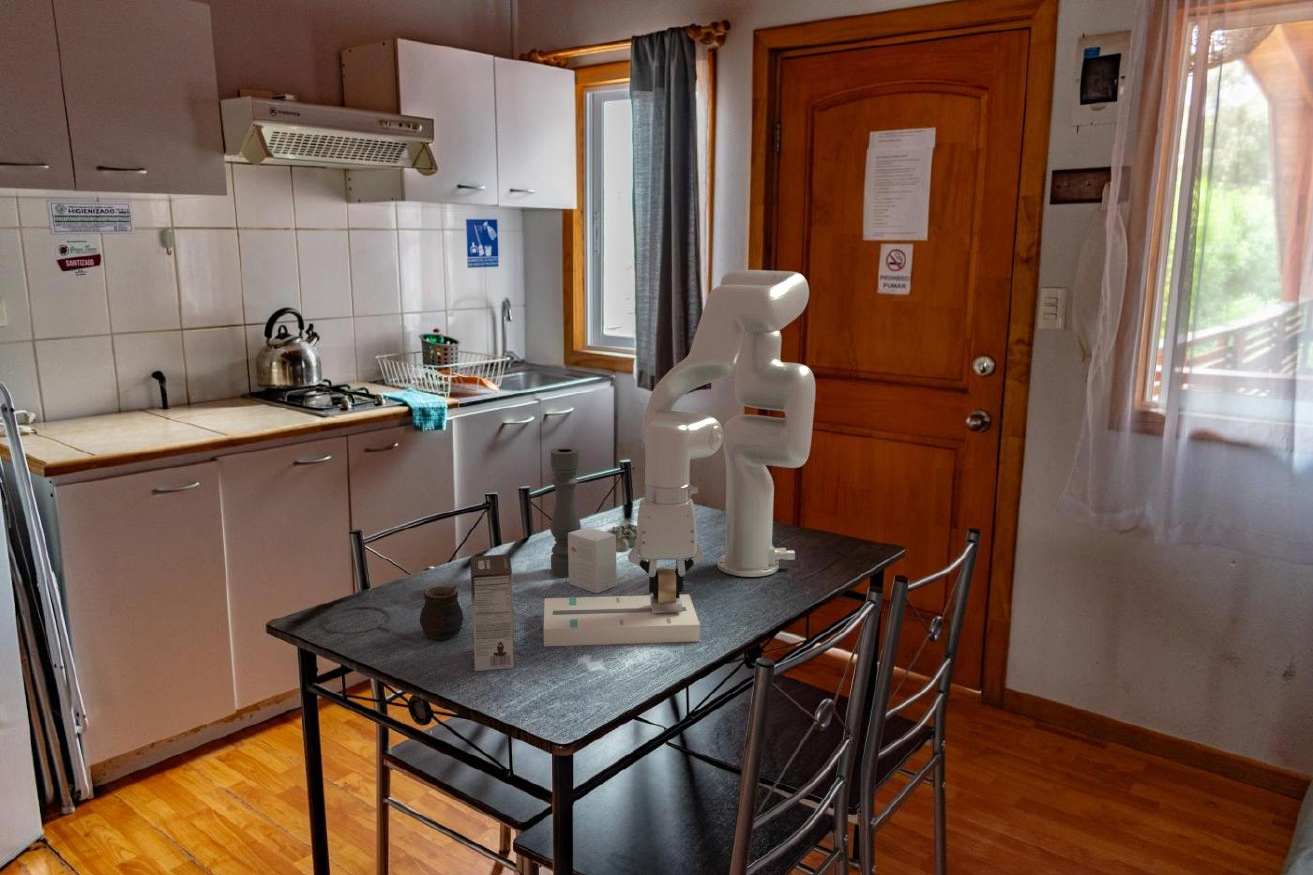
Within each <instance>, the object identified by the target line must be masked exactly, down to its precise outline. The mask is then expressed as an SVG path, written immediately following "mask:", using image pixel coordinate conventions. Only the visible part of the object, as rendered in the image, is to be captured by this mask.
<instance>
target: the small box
mask: <svg viewBox="0 0 1313 875" xmlns="http://www.w3.org/2000/svg"><path fill="white" fill-rule="evenodd" d="M604 531H605V530H600V529H596V528H592V527H589V526H588V527H584V528H581V529H580V530H576V531H573V532H569V533H568V567H569V577H568V584H569V585H570V586H575V587H577V588H580V589H583V590H585V591H588V592H591V593H593V594H599V593H602V592H605V591H607V590H610V589H612V588H615V587H617V585H618V584H617V583H618V582H617V576H618V575H617V552H616V535H614V534H610V533H607V532H604Z"/></svg>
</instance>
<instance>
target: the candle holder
mask: <svg viewBox="0 0 1313 875" xmlns="http://www.w3.org/2000/svg"><path fill="white" fill-rule="evenodd" d="M550 468H551V471H552V473H553V475H554V477H555V478H553V479H552V480H551V484H552V486H554V488H555V503H554V508H553V513H552V517H551V521H550V526H549V527H550V534H551V535H552V536H553V538H554V541H555V543H554V545H553V546H552V547H551V555H550V574H551V575H552V576H554V577H558V578H569V567H568V533H569V532H573V531H576V530H580V529H582V524H581V521H580V516H579V512H578V509H577V505H576V504H577V503H576V487H577V486H578V485H579V479H577V478H576V475H577V473H578V471H579V468H580V449H578V448H575V447H556V448H552V449H550Z"/></svg>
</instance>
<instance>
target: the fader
mask: <svg viewBox="0 0 1313 875" xmlns="http://www.w3.org/2000/svg"><path fill="white" fill-rule="evenodd" d="M656 571H657V575H658V598H657V599H654V596H653V593H650V594H649V595H650V603H651V607H652V611H653V613H667V612H682V602H681V599H680V598H676V573H675V567H670V566H669V567H656Z"/></svg>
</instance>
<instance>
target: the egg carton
mask: <svg viewBox="0 0 1313 875" xmlns="http://www.w3.org/2000/svg"><path fill="white" fill-rule="evenodd" d="M603 531H604V532H607V533H610V534H614V535H616V553H620V552H628V551H629V548H630V549H631V548H633V547H634V545H635V543H636V534H637V525H635V524H631V523H629V522H628V521H624V522H623V523H621V524H620V525H616V526H613V527H611V528H608V529H607V530H603Z"/></svg>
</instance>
